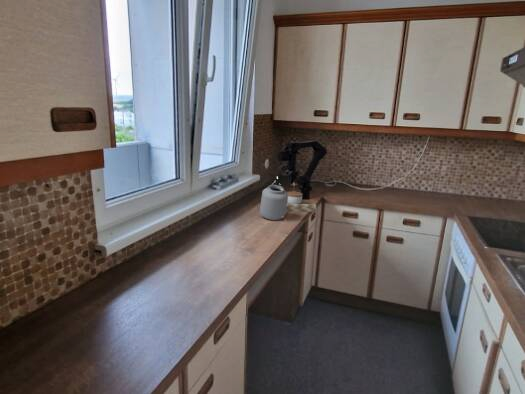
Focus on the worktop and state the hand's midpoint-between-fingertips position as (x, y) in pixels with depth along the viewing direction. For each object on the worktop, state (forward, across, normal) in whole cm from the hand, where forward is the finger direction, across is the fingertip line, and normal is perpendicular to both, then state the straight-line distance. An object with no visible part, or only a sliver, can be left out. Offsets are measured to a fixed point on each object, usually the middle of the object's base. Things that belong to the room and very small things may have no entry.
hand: (290, 183), depth 242 cm
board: (+12, +26, 0) cm, 28 cm away
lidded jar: (+12, +11, 0) cm, 16 cm away
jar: (+12, +39, -19) cm, 45 cm away
